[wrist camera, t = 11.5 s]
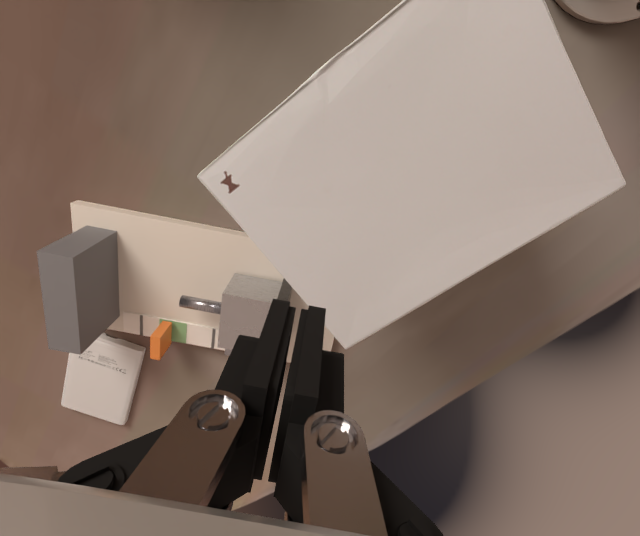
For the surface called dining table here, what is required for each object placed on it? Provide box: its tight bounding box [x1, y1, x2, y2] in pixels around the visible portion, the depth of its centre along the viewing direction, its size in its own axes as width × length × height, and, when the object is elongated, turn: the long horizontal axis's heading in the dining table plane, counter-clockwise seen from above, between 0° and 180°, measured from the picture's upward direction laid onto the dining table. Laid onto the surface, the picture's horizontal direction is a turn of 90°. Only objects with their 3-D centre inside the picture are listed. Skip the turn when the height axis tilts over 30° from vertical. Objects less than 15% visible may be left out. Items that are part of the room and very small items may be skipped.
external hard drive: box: [61, 333, 146, 425], centre depth 48 cm, size 2×8×12 cm
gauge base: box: [37, 200, 334, 363], centre depth 39 cm, size 28×14×8 cm, turn 80°
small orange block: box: [150, 321, 172, 360], centre depth 42 cm, size 1×3×3 cm, turn 169°
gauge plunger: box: [179, 273, 292, 356], centre depth 39 cm, size 10×10×6 cm
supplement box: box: [197, 0, 626, 349], centre depth 27 cm, size 17×13×18 cm
